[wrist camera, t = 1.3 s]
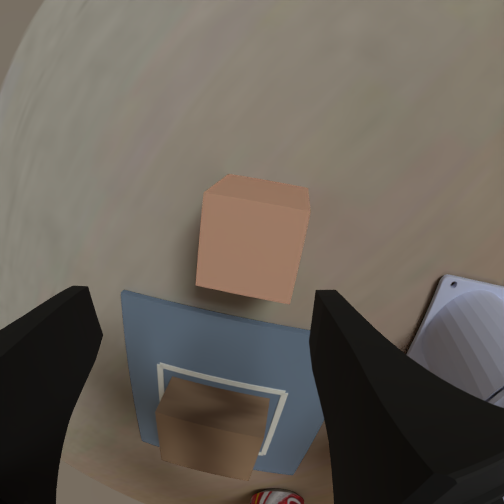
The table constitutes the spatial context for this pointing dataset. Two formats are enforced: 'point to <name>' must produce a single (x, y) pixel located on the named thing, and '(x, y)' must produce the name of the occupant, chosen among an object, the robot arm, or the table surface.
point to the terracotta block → (252, 237)
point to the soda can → (276, 497)
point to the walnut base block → (211, 428)
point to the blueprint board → (224, 370)
